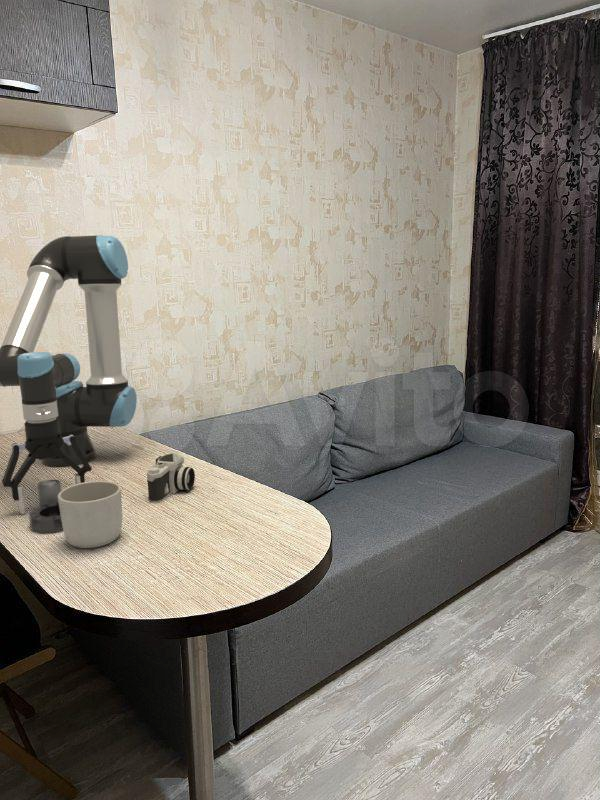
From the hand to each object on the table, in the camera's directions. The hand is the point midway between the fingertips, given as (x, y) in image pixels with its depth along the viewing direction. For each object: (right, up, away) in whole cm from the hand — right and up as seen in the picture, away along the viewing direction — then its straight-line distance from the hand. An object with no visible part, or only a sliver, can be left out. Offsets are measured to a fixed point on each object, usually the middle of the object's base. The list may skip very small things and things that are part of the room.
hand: (51, 506), depth 149 cm
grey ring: (+5, -2, -10) cm, 11 cm away
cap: (0, 0, 0) cm, 0 cm away
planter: (+16, -4, -18) cm, 25 cm away
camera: (+28, +2, +8) cm, 29 cm away
